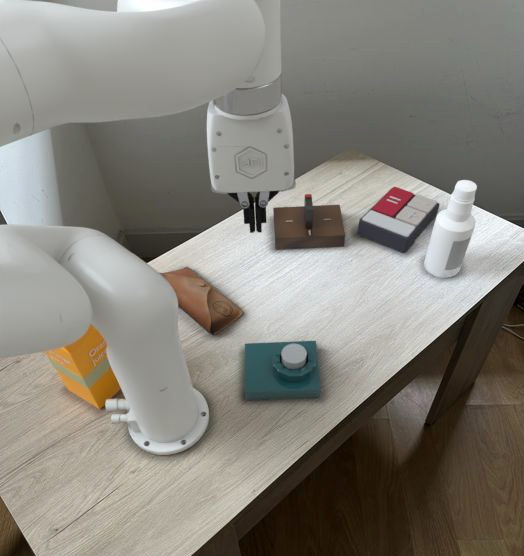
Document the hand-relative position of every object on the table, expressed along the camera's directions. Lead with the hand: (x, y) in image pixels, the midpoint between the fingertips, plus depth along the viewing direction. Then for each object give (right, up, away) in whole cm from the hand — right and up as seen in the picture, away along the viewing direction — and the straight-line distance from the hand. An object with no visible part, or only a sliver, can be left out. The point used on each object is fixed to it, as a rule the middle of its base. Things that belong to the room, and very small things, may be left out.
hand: (255, 226), depth 71 cm
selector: (+10, +8, +38) cm, 40 cm away
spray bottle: (+36, -1, +30) cm, 46 cm away
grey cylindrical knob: (+6, -19, +12) cm, 23 cm away
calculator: (+29, +9, +38) cm, 49 cm away
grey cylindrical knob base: (+4, -21, +15) cm, 26 cm away
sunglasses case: (-11, -8, +27) cm, 30 cm away
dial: (+10, +9, +35) cm, 38 cm away
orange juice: (-26, -22, +16) cm, 38 cm away
